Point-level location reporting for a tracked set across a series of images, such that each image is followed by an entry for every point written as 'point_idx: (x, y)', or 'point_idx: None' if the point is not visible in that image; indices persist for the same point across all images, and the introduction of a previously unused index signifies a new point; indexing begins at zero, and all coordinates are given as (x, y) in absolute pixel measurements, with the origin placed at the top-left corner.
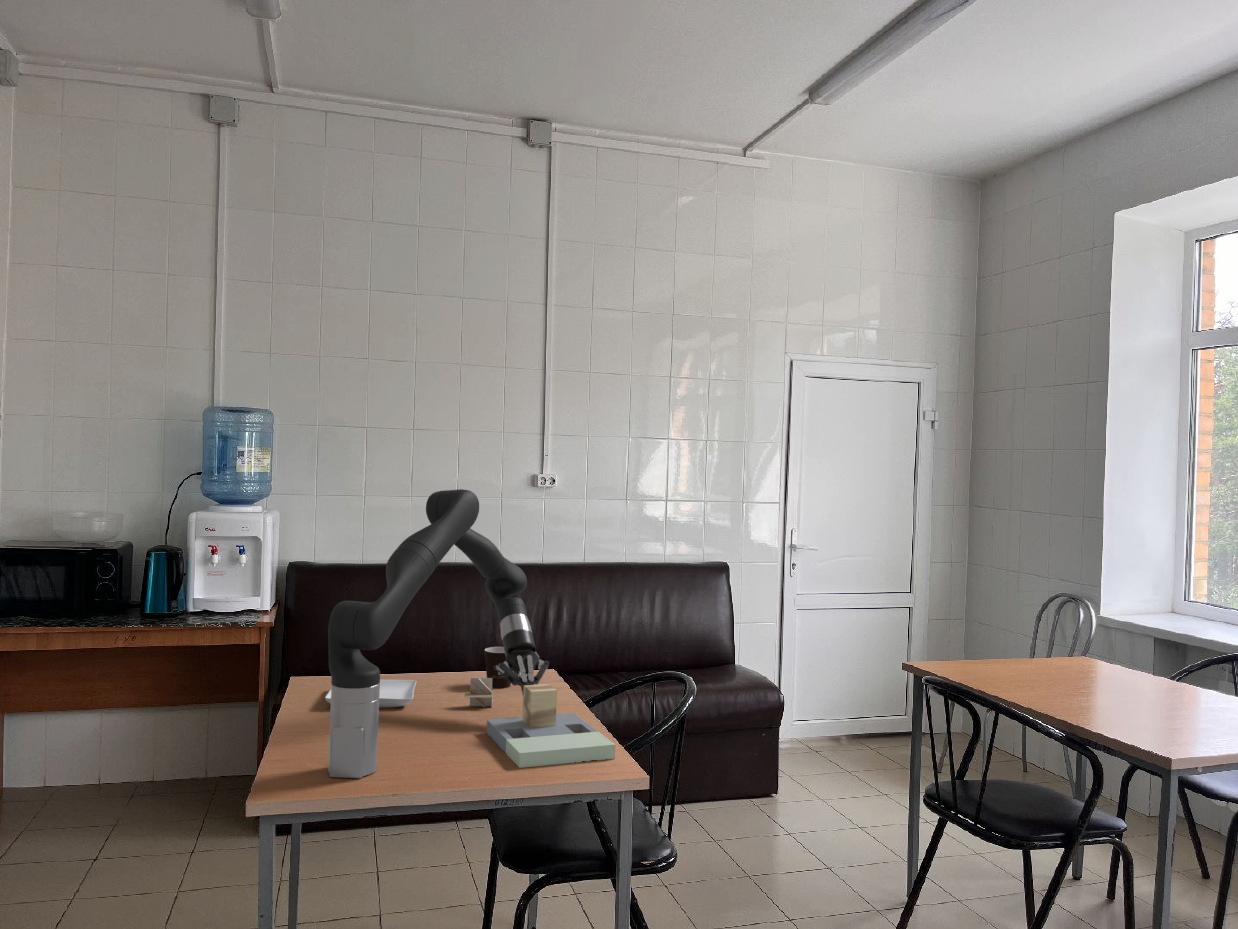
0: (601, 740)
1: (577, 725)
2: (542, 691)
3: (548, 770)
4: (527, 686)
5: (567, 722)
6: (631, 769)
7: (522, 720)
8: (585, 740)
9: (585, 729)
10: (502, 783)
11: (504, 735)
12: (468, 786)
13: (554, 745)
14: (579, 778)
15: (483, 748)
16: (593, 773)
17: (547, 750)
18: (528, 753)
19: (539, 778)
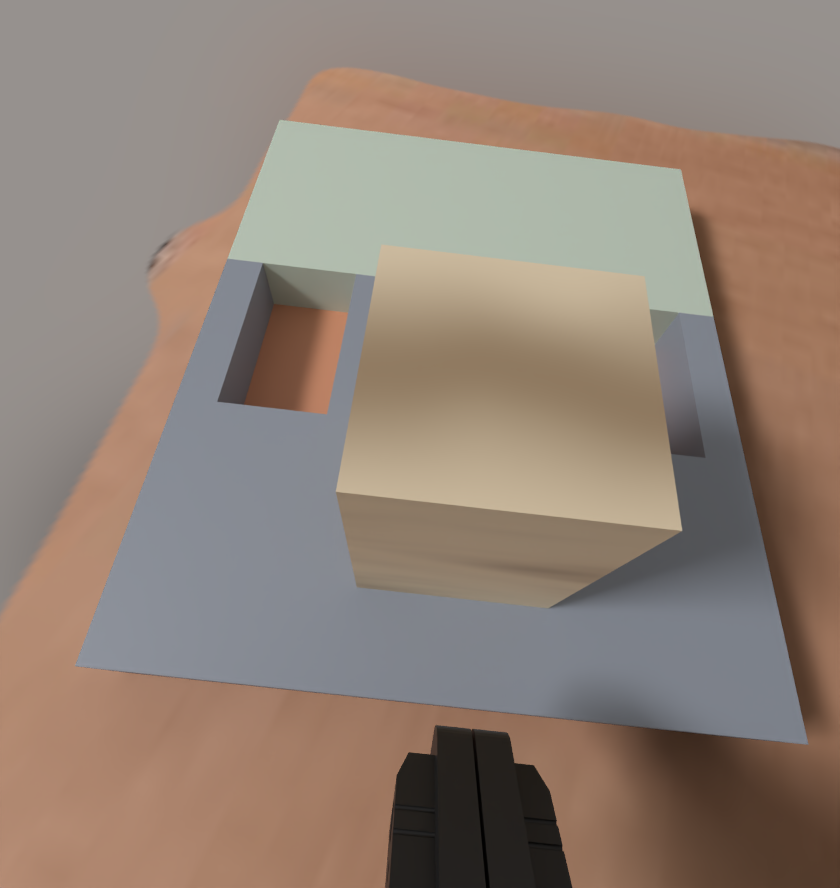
0: (300, 167)
1: (241, 408)
2: (532, 264)
3: None
4: (643, 470)
5: (278, 451)
6: (303, 100)
7: (548, 607)
8: (365, 188)
9: (241, 343)
10: (725, 148)
11: (716, 367)
12: (826, 163)
13: (521, 186)
14: (493, 105)
15: (772, 458)
16: (434, 116)
17: (568, 156)
18: (644, 168)
19: (609, 140)
